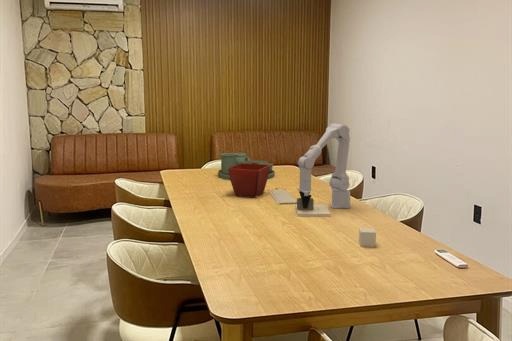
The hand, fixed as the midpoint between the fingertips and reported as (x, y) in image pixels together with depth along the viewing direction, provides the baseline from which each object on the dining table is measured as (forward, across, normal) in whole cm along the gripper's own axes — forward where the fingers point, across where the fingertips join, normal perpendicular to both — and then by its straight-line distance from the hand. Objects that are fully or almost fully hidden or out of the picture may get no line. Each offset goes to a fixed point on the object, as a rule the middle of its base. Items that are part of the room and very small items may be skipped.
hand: (304, 206), depth 249 cm
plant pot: (+3, -38, -29) cm, 48 cm away
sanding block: (+1, 0, 0) cm, 1 cm away
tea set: (+3, -97, -32) cm, 102 cm away
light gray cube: (+3, +50, +21) cm, 54 cm away
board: (+3, 0, +4) cm, 5 cm away
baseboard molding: (+3, -31, -11) cm, 33 cm away
